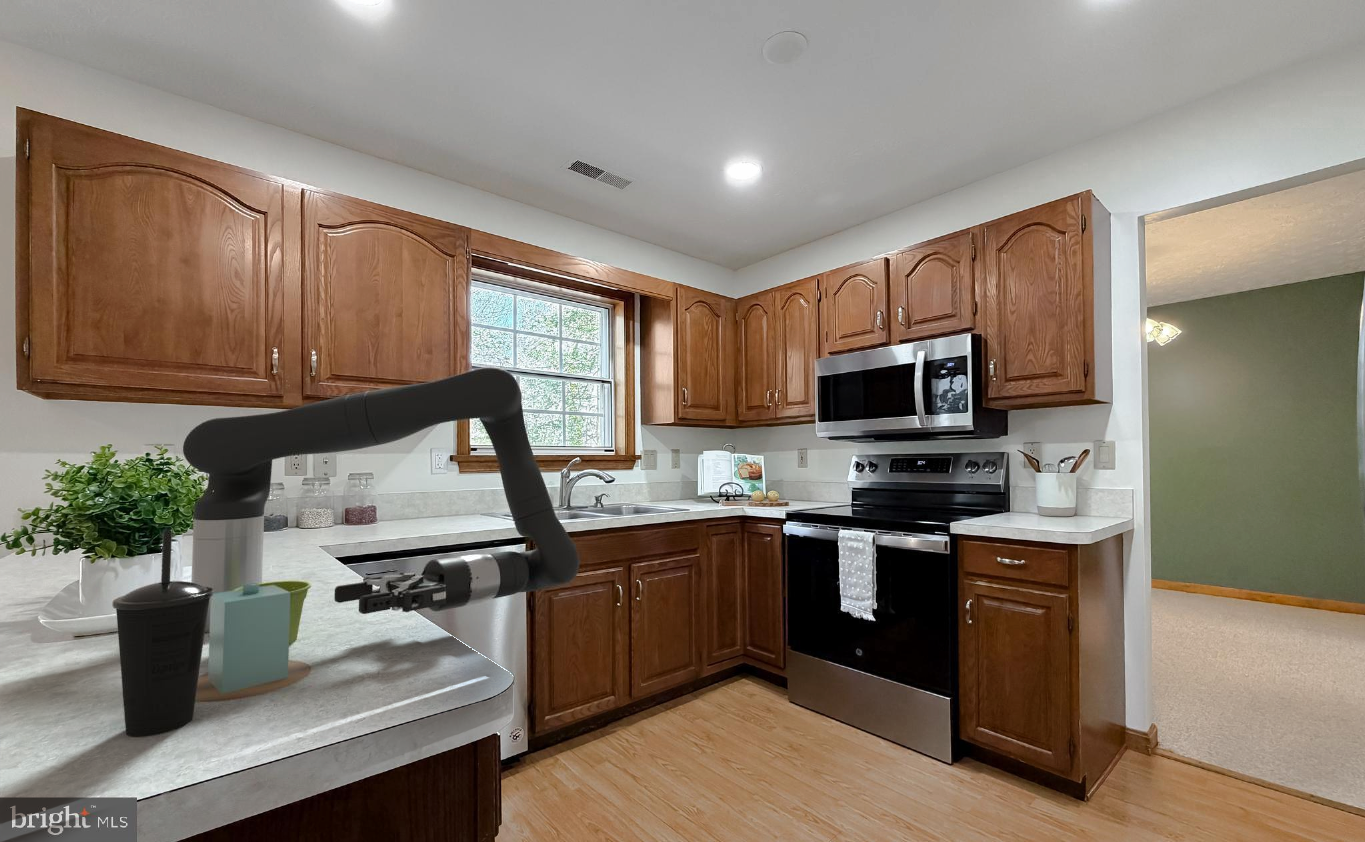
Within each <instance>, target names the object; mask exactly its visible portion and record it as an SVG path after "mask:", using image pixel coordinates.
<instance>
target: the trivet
mask: <svg viewBox="0 0 1365 842" xmlns="http://www.w3.org/2000/svg"><path fill="white" fill-rule="evenodd" d="M311 673H312V666H311V665H310V664H309V663H307V662H305V661H300V660H293V659H292V660H290V659H288V678H284V679H280V680H276V681H272V682H268V683H264V684H260V685H256V686H252V687H248V688H244V689H240V690H235V691H231V692H227V693H223V694H221V693H220V692H219V691H218V690H217V688H216V687H215V686H214V685H213V684H212V683H211V682H210V681H209V680H208V672H207V673H204V674H201V675H199V676H198V683H197V690H196V697H195V703H215V702H226V701H234V700H239V699H240V700H241V699H245V698H252V697H256V696H259V695H264V694H268V693H270V692H271V693H272V692H275V691H278V690H280V689H284V688H286V687H289V686H292V685H294V684H296V683H298V682H300V681H301V680H303V679H305V678H306V677H308V676H309V675H310V674H311Z"/></svg>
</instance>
